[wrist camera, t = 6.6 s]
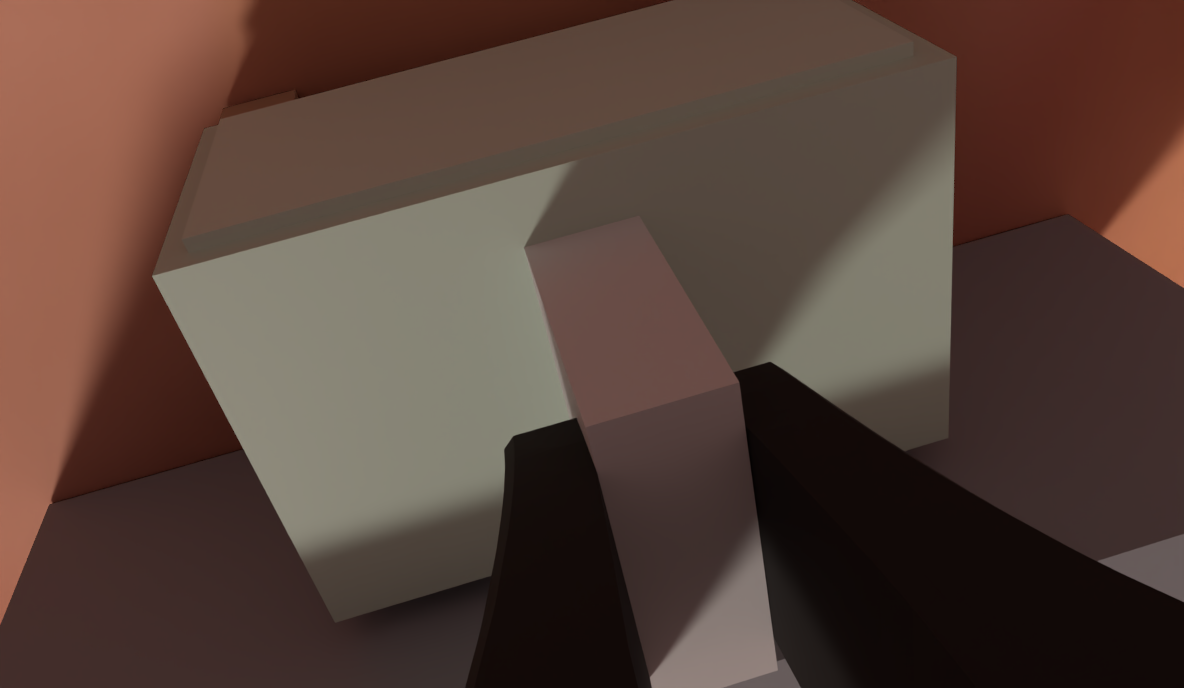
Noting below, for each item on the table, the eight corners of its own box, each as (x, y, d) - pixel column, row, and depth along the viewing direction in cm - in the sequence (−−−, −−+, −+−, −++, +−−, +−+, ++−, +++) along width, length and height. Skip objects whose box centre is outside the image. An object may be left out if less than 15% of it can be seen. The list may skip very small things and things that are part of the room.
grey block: (337, 390, 16) (332, 861, 9) (208, 92, 13) (66, 469, 6) (797, 259, 16) (1099, 615, 10) (771, -54, 14) (1173, 153, 7)
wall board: (93, 568, 17) (-49, 1010, 11) (-53, 355, 14) (-340, 778, 8) (1062, 286, 18) (1407, 544, 12) (1082, 46, 15) (1526, 223, 10)
